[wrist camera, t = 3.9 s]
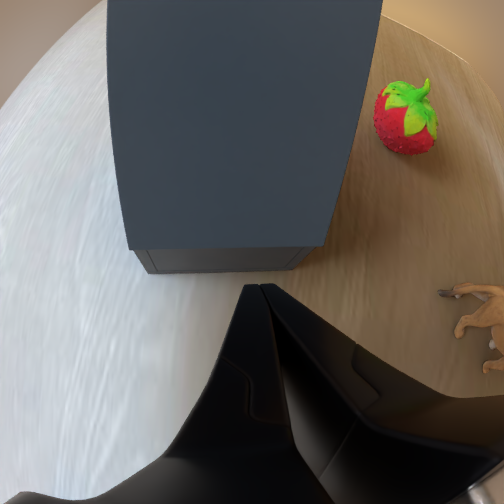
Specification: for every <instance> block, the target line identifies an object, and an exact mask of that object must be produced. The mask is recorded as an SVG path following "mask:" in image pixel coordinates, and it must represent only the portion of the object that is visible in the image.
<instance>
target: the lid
mask: <svg viewBox="0 0 504 504" xmlns="http://www.w3.org/2000/svg"><path fill="white" fill-rule="evenodd" d="M382 3H383V0H107V32H106V50H107V84H108V101H109V115H110V127H111V137H112V146H113V155H114V163H115V171H116V178H117V185H118V192H119V198H120V204H121V210H122V216H123V222H124V227H125V232H126V237H127V243H128V247H129V250H167V249H214V248H265V247H321V246H324V243H325V239H326V236H327V233H328V230H329V226H330V223H331V220H332V216H333V213H334V210H335V206H336V203H337V199H338V196H339V192H340V189H341V185H342V182H343V178H344V175H345V171H346V167H347V163H348V160H349V156H350V152H351V148H352V144H353V141H354V137H355V133H356V129H357V125H358V120H359V116H360V112H361V108H362V104H363V99H364V95H365V90H366V86H367V81H368V77H369V72H370V67H371V63H372V58H373V53H374V48H375V42H376V37H377V32H378V26H379V21H380V15H381V9H382Z"/></svg>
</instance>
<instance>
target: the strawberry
mask: <svg viewBox="0 0 504 504" xmlns="http://www.w3.org/2000/svg"><path fill="white" fill-rule="evenodd" d="M429 91H430V81H429V78H427V79H426V80H425V84H424V87H422V88H419V89H417V88H415V87H414V86H413V85H411V84H408V83H405V82H402V81H396V82H393V83H391V84H388V86H386V87H385V88H384V89H382V90H381V93H380V94H378V99H377V100H376V102H375V104H376V105H375V106H374V107H375V110H374V112H375V113H374V117H373V119H374V123H375V124H374V126H375V127H376V129H377V131H376V133H378V135H379V137H380V140H382V141H383V143H384V145H385V146H387V147H388V148H389V149H392V150H393V151H395V152H400V153H401V154H402V153H404V154H410V155H411V156H412V155H413V154H421V153H423V152H428V150H429V149H430V148H431V146H433V145H434V141H435V140H436V139H437V134H436V131H437V129H436V126H438V119H437V116H436V113H435V111H434V109H433V108H432V107H431V105H430V104H429V103H430V101H429V100H428V98H427V97H426V95H427V94H428V93H429Z"/></svg>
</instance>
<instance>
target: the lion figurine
mask: <svg viewBox="0 0 504 504" xmlns="http://www.w3.org/2000/svg"><path fill="white" fill-rule="evenodd" d="M437 293H438V294H439V295H440V296H442V297H450V296H455V297H456V298H460V297H462V296H463V294H464V293H471V294H473V295H474V296H476V297H477V298H479V299H480V300H482V301H484V302H485V303H483V304H482V306H481V307H479V308H478V309H477V310H476V311H475V312H474V313H473V314H471V315H463V316H462V317H461V319H460V321H459V322H458V324H457V325H456V327H455V330H454V333H455V337H456V338H458V339H460V338H461V337H462V336H463V335H464V333H465V331H464V327H466V326H477V327H487V326H491V333H492V338H493V339H491V340H490V342H489V347H490V349H491V350H495V349H496V348H497V349H498V350H499V351H500V352H501V353H502V354H503V357H501V358H500V359H499V360H487V361H486V362H485V363H484V364H483V373H487V372H488V371H490V368H491V369H497V370H504V286H493V285H473V284H472V283H463V284H458V285H456V286H455V287H454V288H453V290H452V291H445V290H438V292H437Z"/></svg>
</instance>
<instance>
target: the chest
mask: <svg viewBox="0 0 504 504" xmlns="http://www.w3.org/2000/svg"><path fill="white" fill-rule="evenodd" d="M314 248H315V247H265V248H214V249H167V250H133V251H134V252H135V254H136V255H137V257H138V259H139V260H140V262H141V263H142V265H143V266H144V268H145V270H146V271H147V273H148V274H170V273H213V272H248V271H278V270H292V269H293V268H294V267H295V266H296V265H298V264H299V263H300V262H301V261H302V260H303V259H304V258H305V257H306V256H307V255H308V254H309V253H310V252H311V251H312V250H313V249H314Z"/></svg>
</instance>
